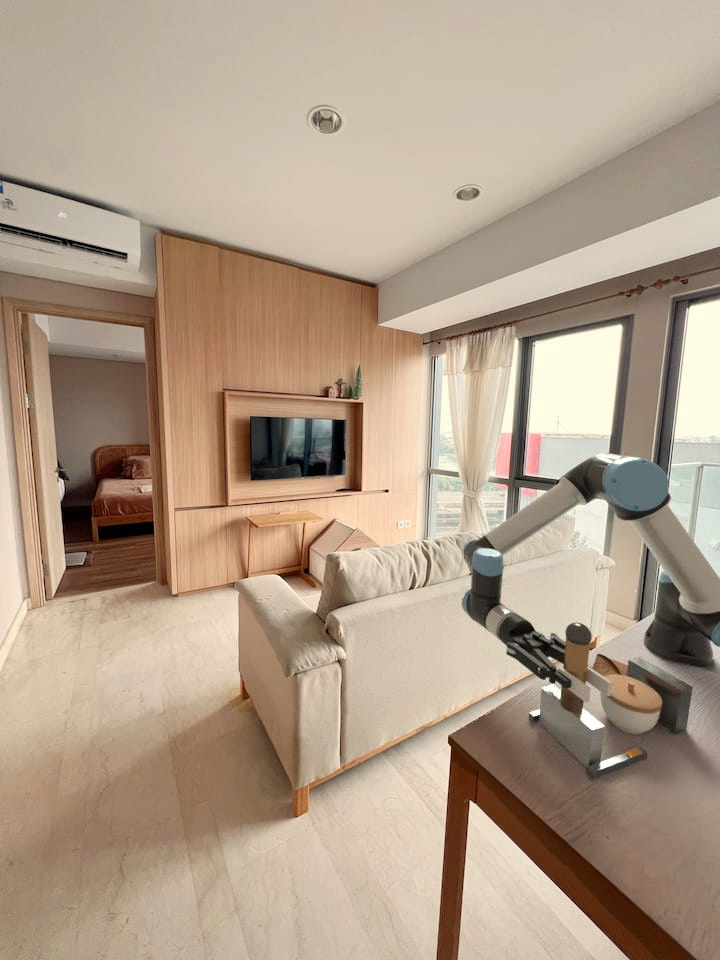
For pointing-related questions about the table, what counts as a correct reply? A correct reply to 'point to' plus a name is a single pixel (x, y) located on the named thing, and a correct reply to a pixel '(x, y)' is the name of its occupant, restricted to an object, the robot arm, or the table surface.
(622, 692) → the lidded jar
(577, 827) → the table surface
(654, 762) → the table surface
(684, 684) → the bench
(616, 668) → the sunglasses case
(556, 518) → the robot arm
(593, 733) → the gold upright rod
